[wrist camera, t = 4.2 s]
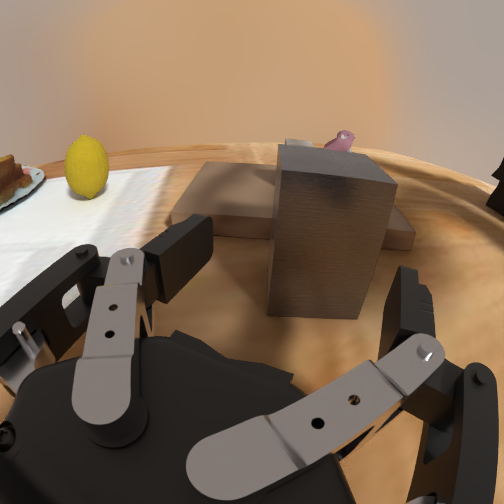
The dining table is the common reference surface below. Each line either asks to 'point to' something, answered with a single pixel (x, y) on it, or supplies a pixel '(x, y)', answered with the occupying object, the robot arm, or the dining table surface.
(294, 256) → the dark grey box
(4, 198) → the food on plate
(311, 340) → the dining table surface
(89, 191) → the lemon
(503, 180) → the decorative tree
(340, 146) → the video game controller
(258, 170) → the flat brown board
